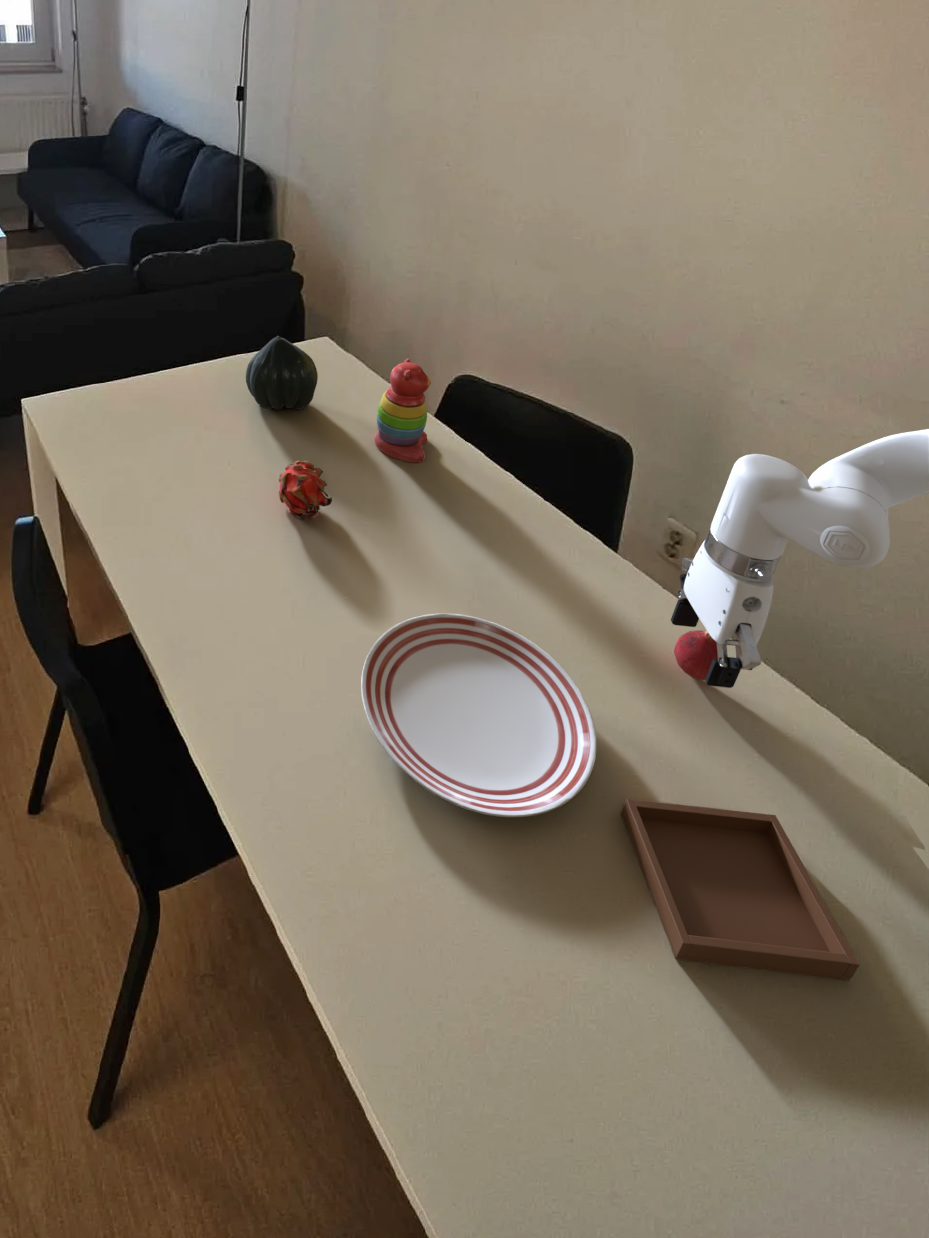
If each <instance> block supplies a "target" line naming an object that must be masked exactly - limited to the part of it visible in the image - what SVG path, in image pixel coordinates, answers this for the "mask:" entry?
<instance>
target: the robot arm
mask: <svg viewBox="0 0 929 1238" xmlns="http://www.w3.org/2000/svg"><path fill="white" fill-rule="evenodd" d="M926 494H929V428H926V429H920V430H919V429H918V430H914V431H913V430H912V431H906V432H900V433H896V434H891V435H887V436H884V437H882V438H878V439H876V440H875V439H874V440H873V441H869V442H868V443H865V444H863V445H861V446H859V447H857V448H854V449H852V450H850V451H847V452H845V453H843V454H841V455H839V456H836V457H834V458H831V459H830V460H828V461H826V462H825V463H823V464H821V466H820V465H819V467H818V468H817V469H816V470H814V471H813V472H812V473H811V475H810V476H809V477H808V478H807V476H806V475H805V474H804V472H803V471H802V470H800V469H799V468H798V467H797V466H795V465H793V464H792V463H789V462H788V461H785V460H784V459H781V458H778V457H775V456H772V455H768V454H762V453H751V454H746V455H743V456H741V457H738V459H737V460H736V461H735V462H734V463H733V466H732V468H731V471H730V474H729V476H728V479H727V482H726V484H725V487H724V490H723V492H722V494H721V498H720V500H719V503H718V505H717V508H716V511H715V513H714V516H713V519H712V521H711V524H710V526H709V529H708V532H707V535H706V537H705V539H704V541H703V542H702V543H701V545H700V547H699V548H698V550H697V552H696V553H695V556H694V558H691V557H683V558H682V559H681V560H682V561H681V572H682V573H680V574H679V581H680V589H678V590H677V596H678V598H679V599H677V602H676V604H675V607H674V609H673V612H672V615H671V618H670V622H671V624H672V625H674V626H679V627H689V628H696V627H697V625H698V622H699V621H700V622H701V623H702V625H703V627H704V628H705V631H708V633H709V634H710V636H711V637H712V638H713V639H714V640H715V641H716V642H717V652H718V659H714V660H713V661H712V664H711V666H710V669H709V671H708V673H707V676H706V678H705V680H704V682H705V683H706V685H707V686H709V687H718V688H725V689H730V688H731V689H732V688H733V687H734V686H735V684H736V681H737V679H738V677H739V675H740V672H741V670H743V671H745V670H746V671H753V669H755V668H756V667H759V666H761V664H762V659H761V656H760V652H759V650H758V647H757V646H758V644H759V641H760V640H761V638H762V635H763V632H764V629H765V626H766V623H767V620H768V616H769V613H770V609H771V605H772V601H773V596H774V595H773V594H774V588H775V587H774V586H775V584H774V581H773V577H774V574H775V573H776V570H777V568H778V566H779V563H780V561H781V559H782V557H783V554H784V552H785V549H786V547H787V545H788V543H789V541H790V542H791V543H793V544H795V545H797V546H798V547H801V548H803V549H805V550H807V551H808V552H810V553H812V554H813V555H815V556H817V557H819V558H821V559H823V560H824V561H827V562H829V563H831V564H835V565H838V566H840V567H843V568H849V569H861V570H862V569H868V568H872V567H874V566H876V565H879V564H880V563H881V562H882V561H883V560H885V558H886V557H887V555H888V553H889V551H890V546H891V535H890V534H891V533H890V531H891V530H890V521H889V520H890V518H889V509H890V508H892V507H894V506H897V505H900V504H902V503H905V502H907V501H910V500H913V499H914V498H917V497H920V496H924V495H926ZM734 636H735V639H731V638H732V637H734ZM728 646H734V647H735V648H734V649H735V657H734V656H729V655H728Z"/></svg>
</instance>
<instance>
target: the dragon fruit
mask: <svg viewBox="0 0 929 1238" xmlns="http://www.w3.org/2000/svg"><path fill="white" fill-rule="evenodd" d="M284 470H285V471H284V472H283V473H280V474H279V477H278V482H279V489H278V490H279V491H278V497H279V501H280V502H281V503H282V504H285V506H286V507H287V508H288V509H289V511H290V512H291V513H292V515H293V516H295V517H296V518H297V519H300V520H301V521H304V517H303V516H304V515H306V516H307V517H309V518H310V519H314V518H316V517H317V516H318V515H320V512H319V511H320V510H321V508H320V506H321V507H323V508H324V507H326V506H327V507H328V506H330V505H331V504H332V502H333V497H329V494H328V493H327V492H326V491H325V488H326V487H328V483H327V482H326V481H325V480H323V479H322V478H321V476H322V475H323V473H324V470H323V469H322V468H321V467H315V465H314V464H313V463H312V462H311V461H309V460H301V459H298V460H296V461H295V462H294V463H293V464H292V463H291V464H288V465H287V466H285V468H284Z"/></svg>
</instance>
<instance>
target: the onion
mask: <svg viewBox="0 0 929 1238" xmlns="http://www.w3.org/2000/svg"><path fill="white" fill-rule="evenodd" d="M673 654H674V657H675V660H676V663H677V665H678V666H679V668H680V669H682V671H683V672H684V673H685V674H686V675H688V676H689V677H691V678H693V679H694V680H695V679H696V680H699V681H705V678H706V676H707V673H708V671H709V669H710V666H711V664H712V661H713V660H714V659H718V652H717V642H716V641H715V640H714V639H713V638H712V637H711V636H710V634H709V633H708V631H707V630H700V629H698V630H690V631H686V632H685V633H683V634H681V635H680V636H679V637H678V639H677V640H676V643H675V645H674V649H673Z"/></svg>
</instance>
